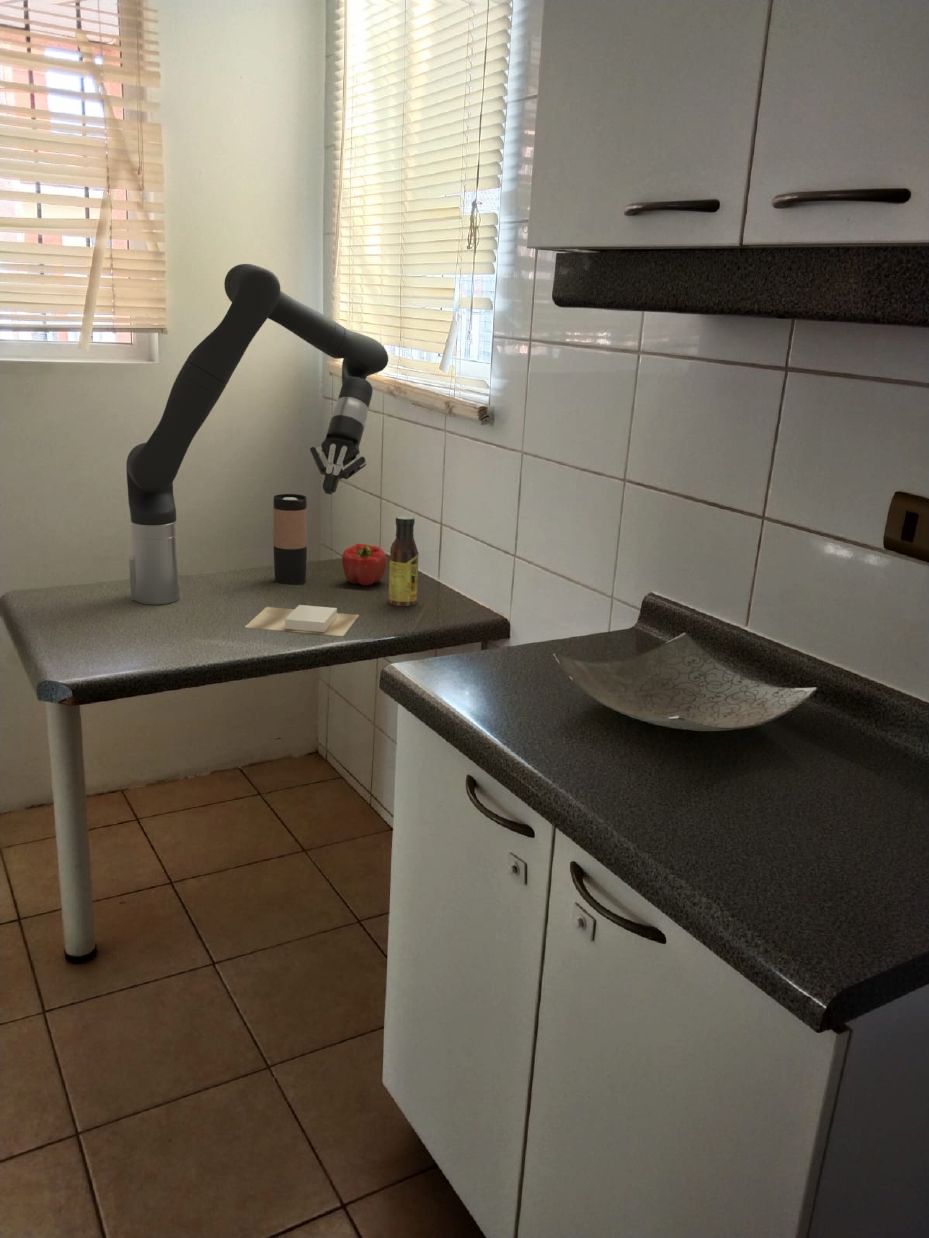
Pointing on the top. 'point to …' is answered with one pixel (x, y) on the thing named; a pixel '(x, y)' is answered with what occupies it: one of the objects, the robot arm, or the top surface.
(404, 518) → the sauce bottle
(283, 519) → the travel mug
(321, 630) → the tile
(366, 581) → the vegetable
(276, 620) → the board
